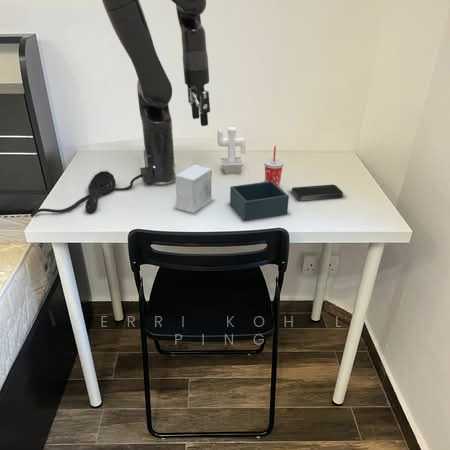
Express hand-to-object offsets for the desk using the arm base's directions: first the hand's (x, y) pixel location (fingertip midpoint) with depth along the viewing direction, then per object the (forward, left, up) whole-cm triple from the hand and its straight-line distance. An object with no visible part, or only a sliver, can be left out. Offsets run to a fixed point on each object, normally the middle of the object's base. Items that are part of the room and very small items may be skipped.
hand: (200, 121), depth 147 cm
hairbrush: (-36, -6, -18) cm, 40 cm away
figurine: (+11, 0, -18) cm, 21 cm away
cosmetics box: (-9, -22, -18) cm, 30 cm away
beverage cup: (+18, -19, -18) cm, 32 cm away
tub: (+8, -31, -18) cm, 37 cm away
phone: (+30, -27, -18) cm, 44 cm away
